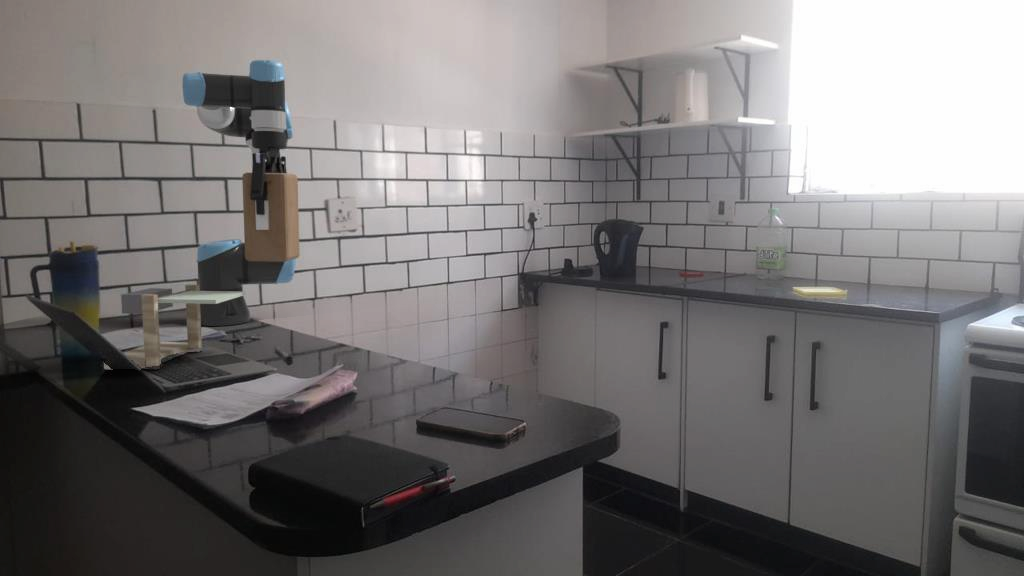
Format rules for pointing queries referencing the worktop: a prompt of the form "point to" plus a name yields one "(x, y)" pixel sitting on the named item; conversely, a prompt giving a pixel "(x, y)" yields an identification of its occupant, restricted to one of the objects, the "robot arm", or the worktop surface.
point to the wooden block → (273, 220)
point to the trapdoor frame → (152, 345)
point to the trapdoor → (174, 298)
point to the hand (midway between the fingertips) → (272, 228)
